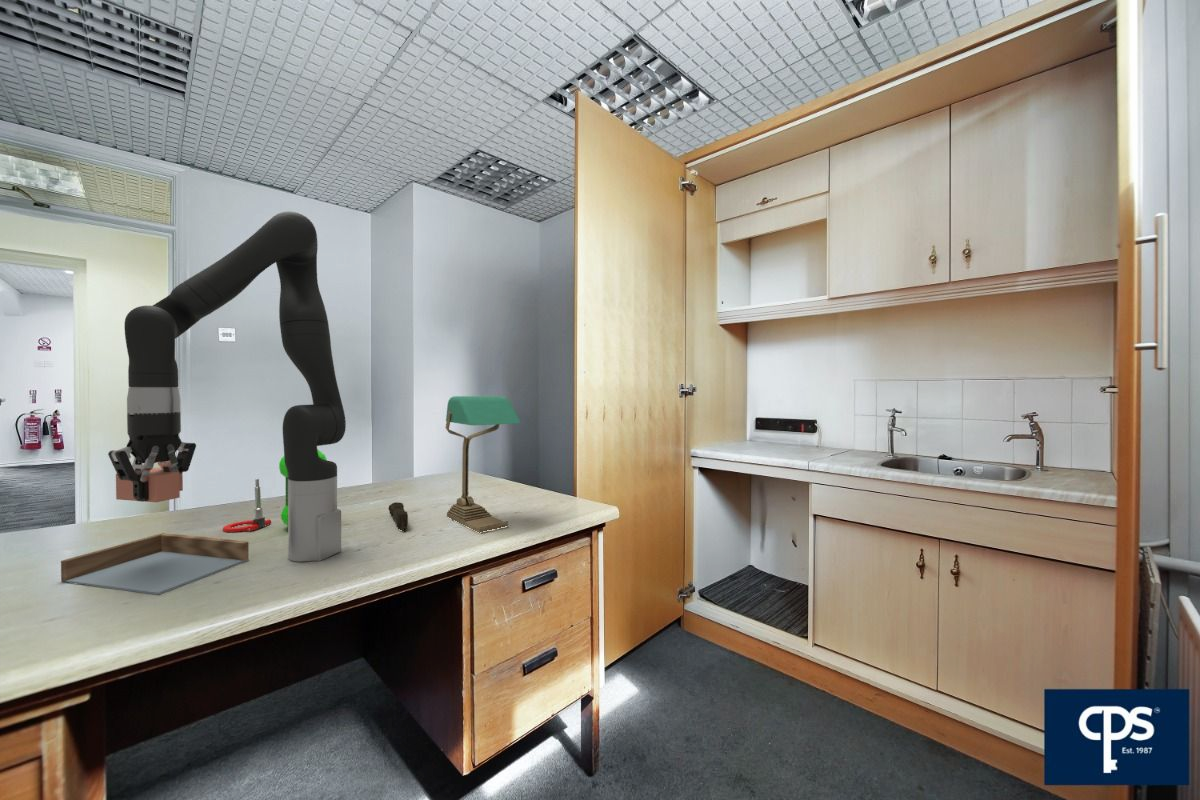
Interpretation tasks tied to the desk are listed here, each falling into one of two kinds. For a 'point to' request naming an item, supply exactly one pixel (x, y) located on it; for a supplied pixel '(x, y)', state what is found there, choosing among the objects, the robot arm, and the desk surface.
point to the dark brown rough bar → (399, 515)
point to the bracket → (153, 486)
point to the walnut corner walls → (150, 546)
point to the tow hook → (258, 516)
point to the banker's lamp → (468, 413)
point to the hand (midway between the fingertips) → (156, 497)
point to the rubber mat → (156, 572)
